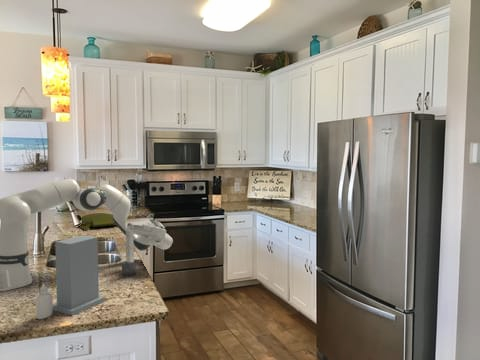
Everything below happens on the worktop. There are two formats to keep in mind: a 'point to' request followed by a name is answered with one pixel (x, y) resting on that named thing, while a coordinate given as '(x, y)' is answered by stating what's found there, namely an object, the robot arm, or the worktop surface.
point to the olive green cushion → (97, 220)
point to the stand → (77, 274)
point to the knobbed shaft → (129, 256)
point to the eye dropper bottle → (44, 303)
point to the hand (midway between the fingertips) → (135, 225)
